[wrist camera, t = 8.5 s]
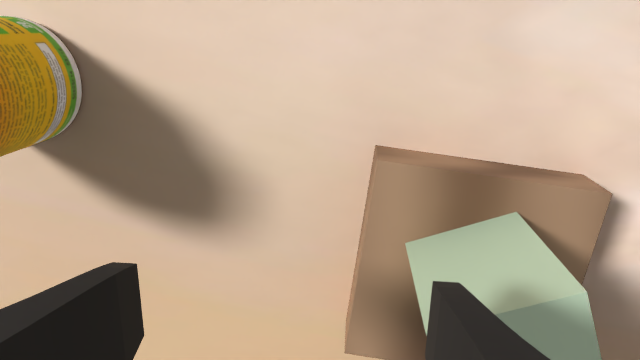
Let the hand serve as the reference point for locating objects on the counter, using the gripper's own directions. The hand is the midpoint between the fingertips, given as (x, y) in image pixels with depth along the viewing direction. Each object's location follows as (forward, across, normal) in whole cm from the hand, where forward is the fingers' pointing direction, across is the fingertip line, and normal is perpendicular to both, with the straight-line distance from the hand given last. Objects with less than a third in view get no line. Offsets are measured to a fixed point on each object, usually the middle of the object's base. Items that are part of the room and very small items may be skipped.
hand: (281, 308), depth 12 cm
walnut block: (+11, -6, +3) cm, 13 cm away
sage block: (+8, -7, +3) cm, 11 cm away
